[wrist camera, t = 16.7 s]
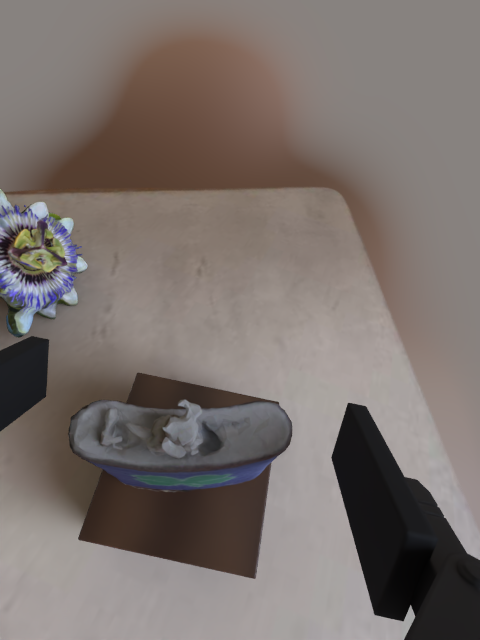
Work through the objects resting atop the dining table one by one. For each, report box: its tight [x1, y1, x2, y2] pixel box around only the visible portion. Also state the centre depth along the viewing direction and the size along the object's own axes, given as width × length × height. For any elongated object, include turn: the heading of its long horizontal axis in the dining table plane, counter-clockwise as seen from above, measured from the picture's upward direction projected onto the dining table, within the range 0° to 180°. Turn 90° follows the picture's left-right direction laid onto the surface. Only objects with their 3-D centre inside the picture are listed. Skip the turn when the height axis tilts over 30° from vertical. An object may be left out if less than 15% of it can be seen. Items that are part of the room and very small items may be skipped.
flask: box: [68, 399, 292, 492], centre depth 17 cm, size 9×3×11 cm, turn 91°
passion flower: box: [0, 189, 87, 337], centre depth 31 cm, size 11×11×12 cm
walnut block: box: [78, 373, 279, 579], centre depth 25 cm, size 10×10×6 cm
